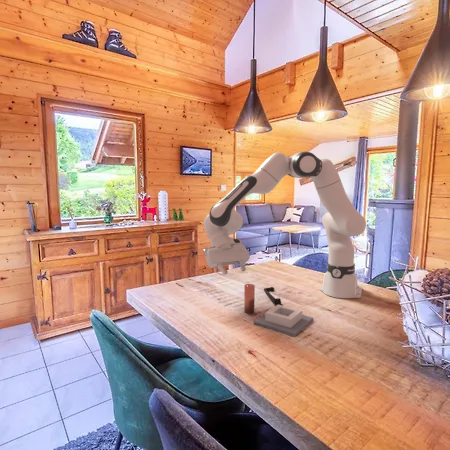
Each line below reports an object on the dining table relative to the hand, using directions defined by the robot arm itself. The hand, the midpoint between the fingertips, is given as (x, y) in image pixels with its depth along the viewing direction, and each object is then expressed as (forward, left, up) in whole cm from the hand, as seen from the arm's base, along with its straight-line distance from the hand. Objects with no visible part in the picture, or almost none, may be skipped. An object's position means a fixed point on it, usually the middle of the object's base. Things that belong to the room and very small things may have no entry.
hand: (235, 272), depth 127 cm
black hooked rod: (-14, +12, -14) cm, 23 cm away
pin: (+3, +9, -14) cm, 17 cm away
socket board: (+3, +24, -14) cm, 28 cm away
